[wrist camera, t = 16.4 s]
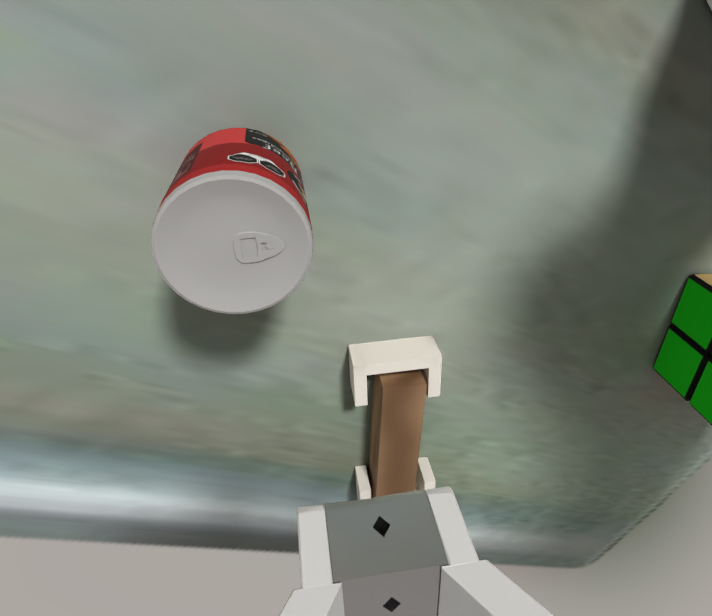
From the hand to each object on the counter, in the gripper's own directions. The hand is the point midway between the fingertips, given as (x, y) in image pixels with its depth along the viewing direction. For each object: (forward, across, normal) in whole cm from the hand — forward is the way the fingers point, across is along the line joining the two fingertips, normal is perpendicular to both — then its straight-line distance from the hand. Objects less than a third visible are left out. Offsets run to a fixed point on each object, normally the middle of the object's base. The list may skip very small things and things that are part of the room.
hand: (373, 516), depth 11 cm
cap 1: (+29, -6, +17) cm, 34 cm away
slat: (+30, -6, +25) cm, 39 cm away
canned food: (+29, +4, +2) cm, 30 cm away
